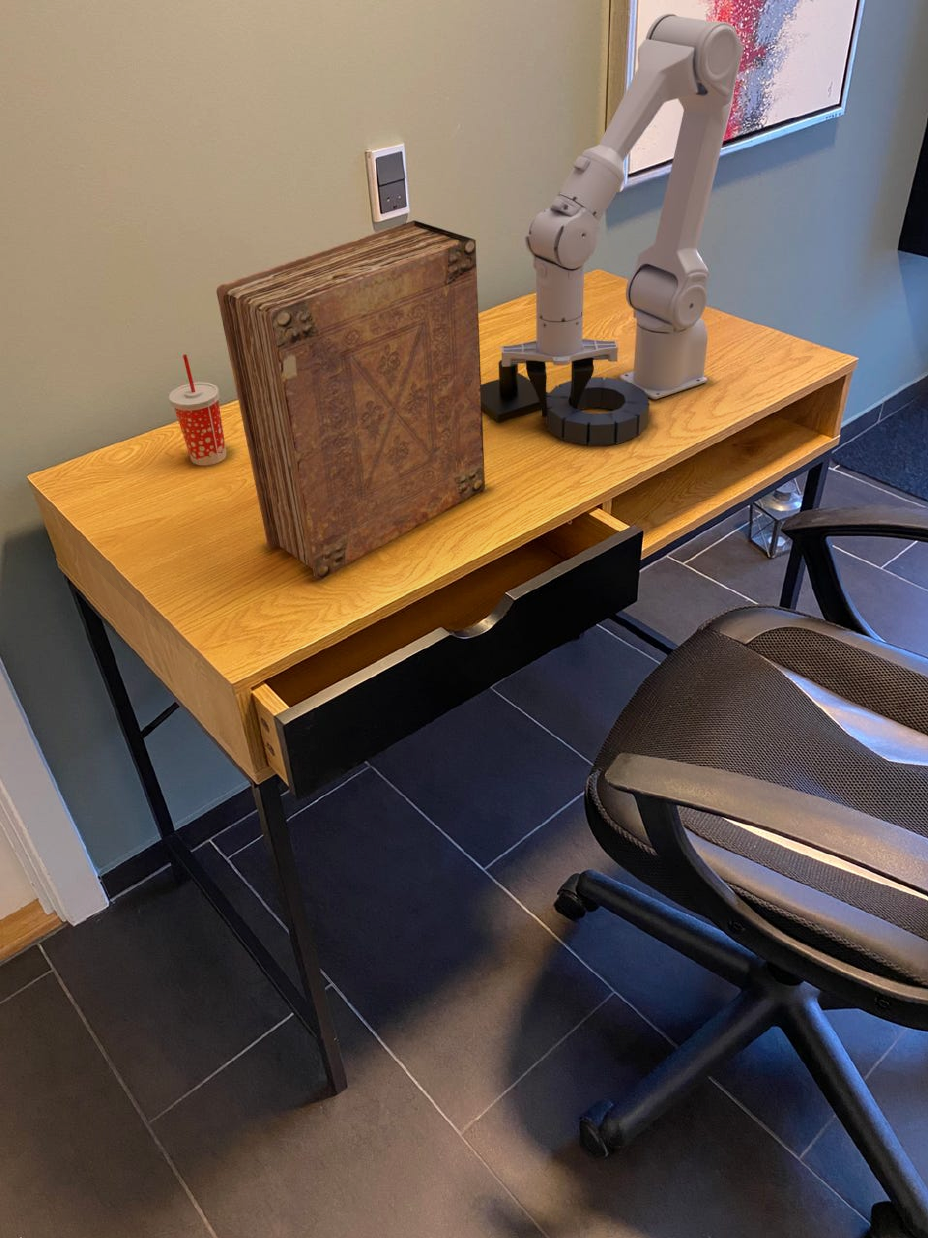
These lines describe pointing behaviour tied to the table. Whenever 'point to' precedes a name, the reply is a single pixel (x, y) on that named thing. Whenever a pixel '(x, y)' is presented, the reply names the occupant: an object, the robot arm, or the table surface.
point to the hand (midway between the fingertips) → (558, 412)
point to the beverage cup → (200, 420)
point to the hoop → (598, 426)
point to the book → (359, 389)
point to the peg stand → (509, 395)
